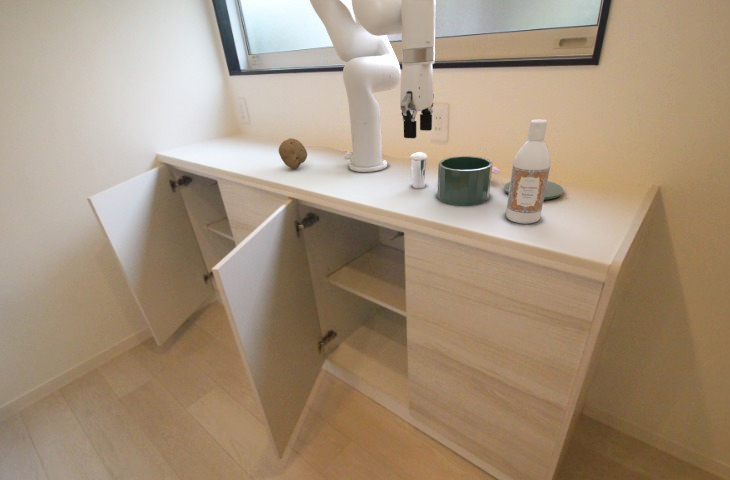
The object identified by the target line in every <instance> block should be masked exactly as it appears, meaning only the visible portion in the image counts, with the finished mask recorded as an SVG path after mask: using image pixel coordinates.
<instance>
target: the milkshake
mask: <svg viewBox="0 0 730 480" xmlns="http://www.w3.org/2000/svg"><path fill="white" fill-rule="evenodd" d="M407 153H408V156H409V161H410V171H411V184H412V188H414V189H422V188H424V187H425V184H426V174H427V164H428V155H427V153H425V152H423V151H417V152H415V153H412V154H411V155H410V154H409V152H407Z"/></svg>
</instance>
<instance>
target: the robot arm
mask: <svg viewBox="0 0 730 480" xmlns="http://www.w3.org/2000/svg"><path fill="white" fill-rule="evenodd" d="M309 2H310V4H311V6H312V8H313V10H314V12H315V14H316V15H317V16H318V18H319V19H320V21H321V22H322V24H323V26H324V27H325V30H326V33H327V35H328V37H329V39H330V41H331V44H332V46H333V48H334V51H335V52H336V55H337V56H338V57H339V59H340V60H341V61H342V62H345V64H344V67H343V70H342V78H343V79H342V80H343V83H344V88H345V92H346V96H347V102H348V110H349V121H350V122H349V123H350V135H351V145H352V147H351V148H352V152H350V151H347V152H345V154H344V160H349V161H350V163H349V166H348V167H349V170H351V171H353V172H359V173H370V172H377V171H381V170H384V169H386V168H387V167H388V161H387V160H385V159H383V141H382V140H383V139H382V117H381V114H382V113H381V106H380V104H379V102H378V101H377V99H376V98H375V96H374V93H379V92H386V91H387V92H388V91H391V90H393V89H395V88H397V87H398V85H400V97H399V99H400V101H399V102H400V103H399V104H400V105H399V106H400V110H401V117H402V122H403V138H404V139H416V138H417V120H416V117H417V113H418V112H421V113H420V114H419V130H420V131H423V132H424V131H425V132H428V131H429V132H430V131H432V129H433V113H434V109H433V107H434V98H435V94H434V70H433V69H434V68H433V65H434V64H435V58H436V57H435V54H436V51H435V50H436V48H435V47H436V4H437V3H436V0H351V6H352V10H353V14H354V17H355V19H356V21H357V22H358V23H357V22H356V21H355V20H354V18H353V15H352V13H351V11H350V10H349V8H348V6H346V4H345V3H344V2H342V1H341V0H309ZM388 36H401V62H402V64H401V66H402V67H401V66H400V63H399V60H398V58H397V56H396V53H395V51H394V49H393V48H392V45H391V43H390V40H389V38H388Z"/></svg>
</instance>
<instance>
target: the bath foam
mask: <svg viewBox="0 0 730 480" xmlns="http://www.w3.org/2000/svg"><path fill="white" fill-rule="evenodd" d="M547 125H548V120H546V119H531V120H530V122H529V129H528V135H527V140H526V141H525V142H524V144H523V145H522V146H521V147H520V148H519V150H518V151H517V153H516V155H515V156H514V159H513V163H512V167H511V176H510V181H509V182H510V189H509V194H508V197H507V204H506V211H505V217H506V218H507V220H509V221H511V222H513V223H517V224H525V225H526V224H527V225H529V224H535V223H537V222H538V221H540V219H541V216H542V215H541V214H542V211H543V205H544V196H545V190H546V185H547V181H548V180H549V175H550V169H551V162H552V159H551V153H550V150H549V149H548V146H547V144H546V141H545V136H546V131H547Z"/></svg>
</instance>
